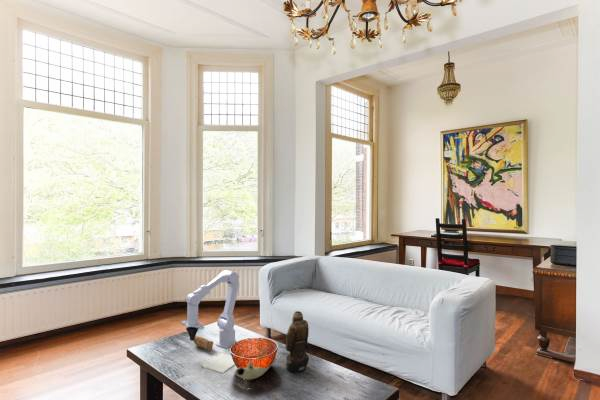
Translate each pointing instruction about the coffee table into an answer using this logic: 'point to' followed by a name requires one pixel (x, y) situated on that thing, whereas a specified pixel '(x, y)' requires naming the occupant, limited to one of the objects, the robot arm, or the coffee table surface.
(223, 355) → the felt mat
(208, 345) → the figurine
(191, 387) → the coffee table surface
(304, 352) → the sculpture
